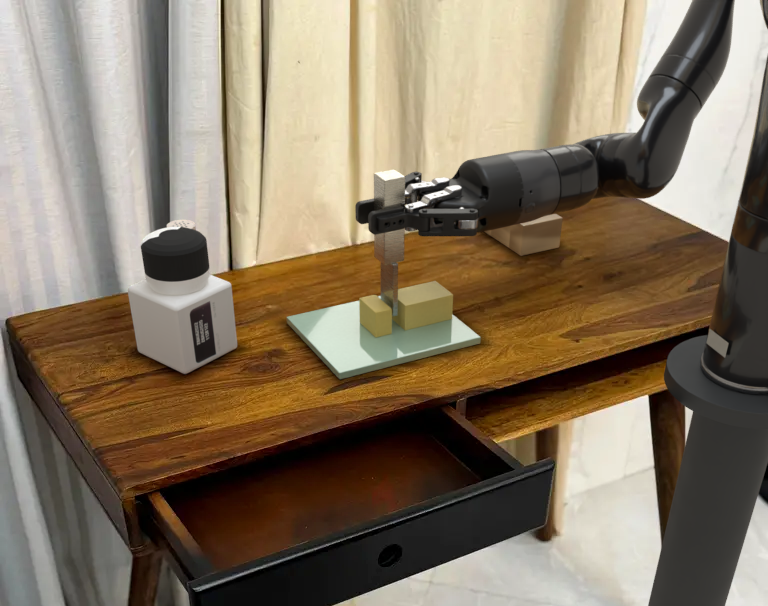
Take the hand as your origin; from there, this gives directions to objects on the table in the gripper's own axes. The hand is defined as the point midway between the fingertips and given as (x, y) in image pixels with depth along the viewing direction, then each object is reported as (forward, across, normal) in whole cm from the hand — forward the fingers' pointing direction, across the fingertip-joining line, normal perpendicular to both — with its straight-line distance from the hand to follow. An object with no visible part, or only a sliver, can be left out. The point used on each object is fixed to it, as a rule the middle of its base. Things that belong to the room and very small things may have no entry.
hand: (364, 218), depth 100 cm
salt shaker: (+15, -16, +14) cm, 26 cm away
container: (+19, -6, +14) cm, 24 cm away
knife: (-3, 0, +11) cm, 11 cm away
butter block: (-7, 0, +13) cm, 14 cm away
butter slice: (-1, 0, +13) cm, 13 cm away
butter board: (-2, 0, +13) cm, 14 cm away
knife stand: (-30, -15, +14) cm, 36 cm away
